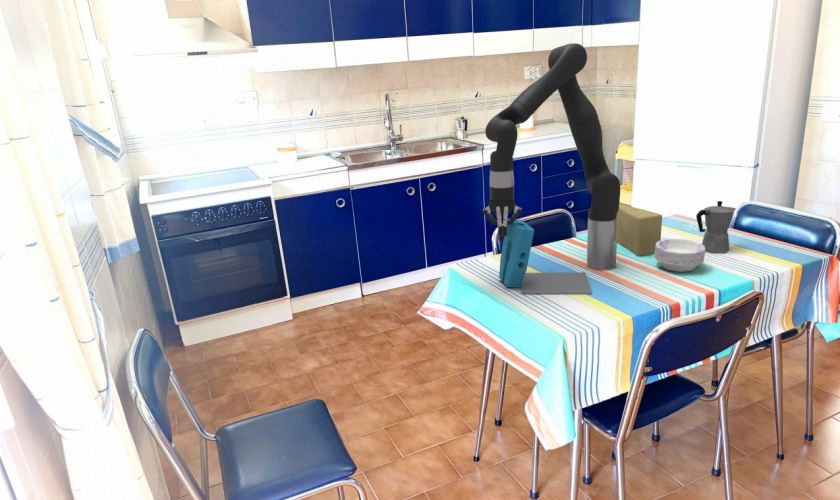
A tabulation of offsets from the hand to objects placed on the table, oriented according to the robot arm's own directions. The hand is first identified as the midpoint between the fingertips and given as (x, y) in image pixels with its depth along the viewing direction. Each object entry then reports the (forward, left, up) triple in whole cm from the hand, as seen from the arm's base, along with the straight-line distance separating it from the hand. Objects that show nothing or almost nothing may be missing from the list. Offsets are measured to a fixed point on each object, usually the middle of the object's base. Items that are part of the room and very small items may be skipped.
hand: (502, 236), depth 181 cm
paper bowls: (-58, -14, -17) cm, 62 cm away
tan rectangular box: (-47, -36, -17) cm, 61 cm away
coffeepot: (-74, -31, -17) cm, 82 cm away
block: (-2, 0, -16) cm, 16 cm away
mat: (-16, 0, -16) cm, 23 cm away
